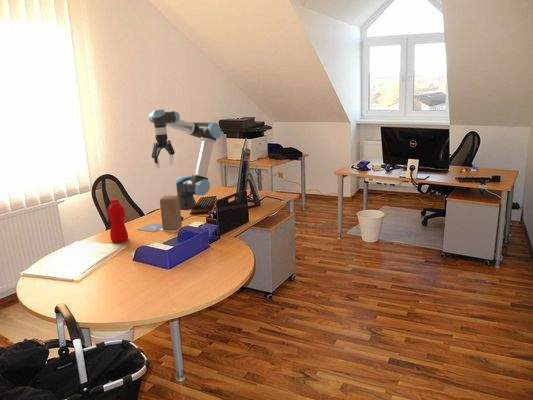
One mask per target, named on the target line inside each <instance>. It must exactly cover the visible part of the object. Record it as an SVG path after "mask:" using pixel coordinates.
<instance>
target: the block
mask: <svg viewBox="0 0 533 400" xmlns="http://www.w3.org/2000/svg"><path fill="white" fill-rule="evenodd" d="M159 205H160V206H159V207H160V214H161V225H162V226H163V230H178V229H179V228H180V227H181V226H183V223H182V215H181V214H182V213H181V209H180V201H179V196H177V195H163V197H161V198H160V199H159Z"/></svg>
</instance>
